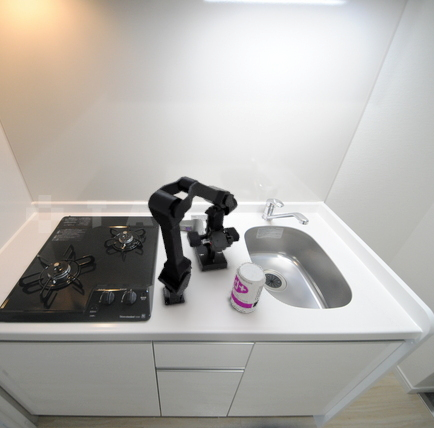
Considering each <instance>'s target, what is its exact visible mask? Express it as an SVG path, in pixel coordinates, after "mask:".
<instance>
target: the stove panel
mask: <svg viewBox="0 0 434 428" xmlns="http://www.w3.org/2000/svg"><path fill="white" fill-rule="evenodd" d="M210 243H211V241H210ZM193 250H194V253H195V257H196V259H197V263H198V266H199V268H200V271H201V272H208V271H209V272H210V271H216V270H223V269H228V265H229V264H228V263H229V261H228V260H227V257H226V256H225V254H224V252H223V250H221V251H216V252H215V258H210V255H209V254H208V252H207V249H206V247H204V246H203V245H202V243H201V245H200V246H199V247H193Z"/></svg>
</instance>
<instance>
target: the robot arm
mask: <svg viewBox="0 0 434 428" xmlns="http://www.w3.org/2000/svg"><path fill="white" fill-rule="evenodd" d="M180 193H184V194H186V195H187V196H185V197H184V199H183V198H181V197H180V196H179V197H178V196H177V195H178V194H180ZM195 197H197V198H201V199H203V200H204V201H205V202H206V203H209V204H211V205H210V206H208V208H207V209H206V210H204V214H205V215H206V219H205V228H204V232H205V233H203V234H200V235H199V234H198V231H195V232H191V231H187V233H186V240H187V242H188V245H189V247H190V248H194V247H199V246H200V245H201V243H202V245H203V246H204V247H206V249H207V252H208V254H210V246H211V245H212V249H213V250H214V251H215V252H216V251H221V250H222V251H226V250H227V248H231V247H232V246H233V244H234V243H236V242H237V243H238V242H239V241H240V238H241V237H240V236H241V235H240V233H239V232H238V230H237V228H235V226H229V227H225V226H224V220H225V217H227V216H228V215H230V214H231V213H232V212H234V211H235V210H236V209H237V208H238V204H239V203H238V200H237V199H236V198H235V194H234V193H232V192H231V191H230V190H226V189H224V188H221V187H218V186H215V185H207V184H204V183H203V182H200V181H199V180H197V179H195V178H192V177H189V176H180V177H179V178H178V179H177V180H176V181H172V182H170V183H166V184H164V185H162V186H160V187H159V188H158V189H157V190H155V191H154V192H152V194H150V196H149V199H148V200H147V208H148V210H149V212H150V215H151V216H152V218H153V219H154V220H155V221H156V223H157V224H158V225H159V227H160V232H161V238H162V242H163V247H164V251H165V257H166V260H165V261H164V262H163V267H162V269H161V271H160V272H159V274H158V276H157V280H158V282H160V283H162V284H163V285H164V287H163V288H162V292H163V301H164V305H165V306H171V305H177V304H184V303H185V296H184V292H185V290H186V289H187V288H188V287H189V284H190V281H191V277H192V269H193V267H192V260H191V259H190V258H188V257H187V256H185V255H184V249H183V241H182V233H181V230H180V222H181V221H182V220H184V219H185V216H186V213H187V212H188V211H190V209H192V205H193V201H194V198H195ZM210 241H211V244H210Z"/></svg>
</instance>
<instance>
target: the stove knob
mask: <svg viewBox="0 0 434 428" xmlns="http://www.w3.org/2000/svg"><path fill="white" fill-rule="evenodd" d="M210 244H211V243H210ZM209 255H210V258H215V251H214V250H213V249H212V245H211V246H210V254H209Z"/></svg>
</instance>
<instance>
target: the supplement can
mask: <svg viewBox="0 0 434 428" xmlns="http://www.w3.org/2000/svg"><path fill="white" fill-rule="evenodd" d="M266 281H267V276H266V273H265V270H264V269H263V268H262V266H261V265H259V264H257V263H255V262H251V261H247V262H243V263H241V264H240V265H239V266H238V267H237V269H236V273H235V276H234V280H233V284H232V289H231V293H230V297H229V299H230V304H231V305H232V307H233V308H234V309H235V310H237V311H239V312H240V313H244V314H249V313H252V312H254V311H255V310H256V308H257V305H258V303H259V300H260V297H261V295H262V292H263V289H264V287H265V284H266Z"/></svg>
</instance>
